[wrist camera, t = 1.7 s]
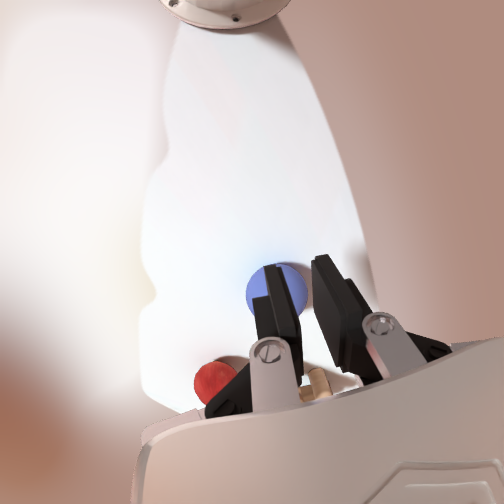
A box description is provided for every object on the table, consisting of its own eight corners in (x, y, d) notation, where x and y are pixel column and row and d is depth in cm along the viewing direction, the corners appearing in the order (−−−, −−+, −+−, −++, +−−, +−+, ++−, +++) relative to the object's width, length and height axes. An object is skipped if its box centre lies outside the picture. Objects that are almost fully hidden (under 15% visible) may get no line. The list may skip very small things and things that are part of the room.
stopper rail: (271, 392, 41) (275, 413, 37) (328, 380, 41) (334, 400, 37) (273, 399, 42) (276, 419, 38) (327, 387, 42) (334, 406, 38)
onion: (246, 356, 36) (252, 407, 29) (226, 379, 38) (228, 427, 31) (206, 342, 34) (205, 395, 27) (188, 367, 36) (185, 416, 29)
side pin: (307, 369, 39) (322, 421, 31) (324, 365, 39) (341, 416, 31) (307, 379, 40) (321, 428, 32) (323, 375, 40) (339, 423, 32)
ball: (239, 258, 29) (243, 294, 24) (297, 247, 29) (313, 280, 24) (248, 304, 32) (254, 343, 27) (301, 294, 32) (315, 330, 27)
